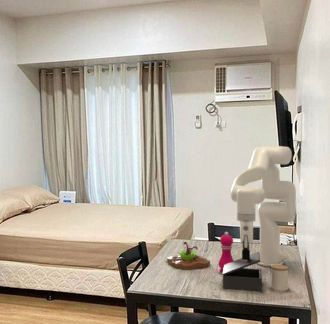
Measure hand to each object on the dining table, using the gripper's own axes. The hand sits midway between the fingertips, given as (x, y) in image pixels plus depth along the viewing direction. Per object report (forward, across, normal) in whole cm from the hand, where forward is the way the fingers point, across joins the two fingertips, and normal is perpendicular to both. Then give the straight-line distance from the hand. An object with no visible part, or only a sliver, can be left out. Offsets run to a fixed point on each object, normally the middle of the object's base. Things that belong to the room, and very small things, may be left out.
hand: (245, 259), depth 207 cm
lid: (+2, 0, +2) cm, 3 cm away
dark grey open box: (+12, 0, +1) cm, 12 cm away
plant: (+12, +30, +28) cm, 44 cm away
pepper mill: (+12, +19, +9) cm, 24 cm away
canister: (+12, 0, -14) cm, 18 cm away
